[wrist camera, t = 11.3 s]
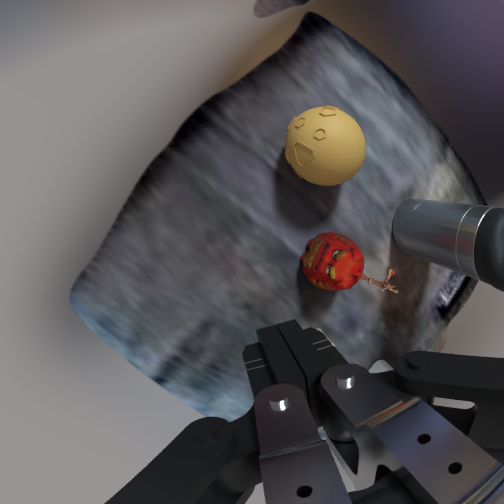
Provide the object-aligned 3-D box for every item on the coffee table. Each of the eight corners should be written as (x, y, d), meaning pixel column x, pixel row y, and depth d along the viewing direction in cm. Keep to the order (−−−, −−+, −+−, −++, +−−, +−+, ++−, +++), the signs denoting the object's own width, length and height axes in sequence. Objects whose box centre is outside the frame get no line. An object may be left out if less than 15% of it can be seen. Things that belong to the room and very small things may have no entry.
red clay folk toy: (311, 223, 41) (366, 240, 26) (352, 240, 42) (416, 263, 28) (291, 274, 42) (335, 315, 27) (333, 287, 43) (387, 329, 29)
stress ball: (346, 158, 41) (359, 98, 33) (364, 204, 34) (386, 134, 27) (279, 155, 41) (283, 91, 33) (285, 201, 35) (291, 126, 27)
